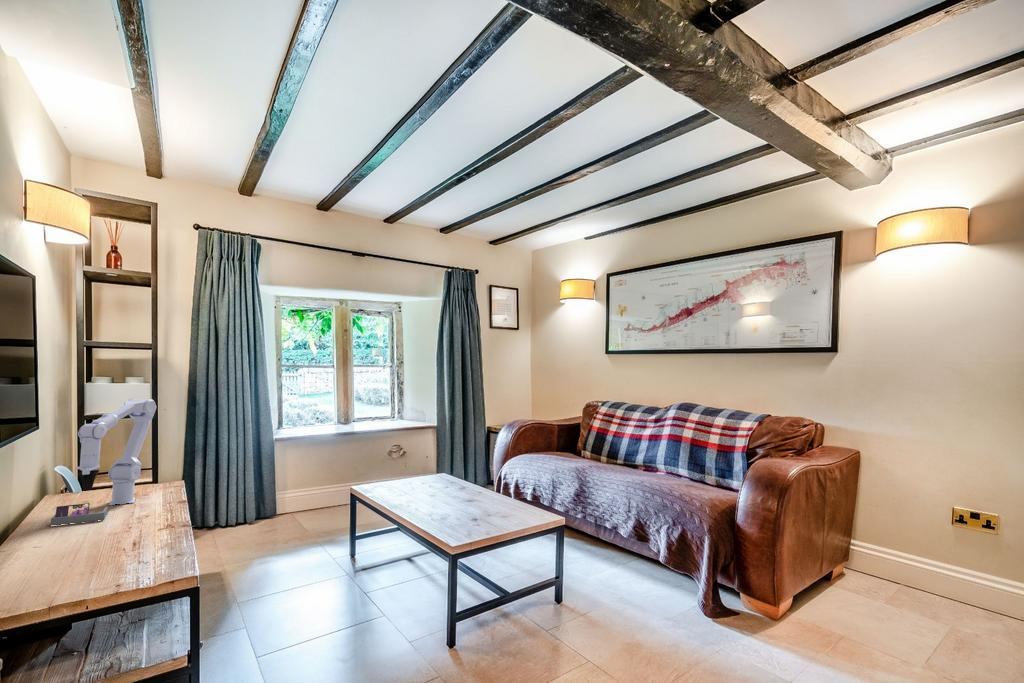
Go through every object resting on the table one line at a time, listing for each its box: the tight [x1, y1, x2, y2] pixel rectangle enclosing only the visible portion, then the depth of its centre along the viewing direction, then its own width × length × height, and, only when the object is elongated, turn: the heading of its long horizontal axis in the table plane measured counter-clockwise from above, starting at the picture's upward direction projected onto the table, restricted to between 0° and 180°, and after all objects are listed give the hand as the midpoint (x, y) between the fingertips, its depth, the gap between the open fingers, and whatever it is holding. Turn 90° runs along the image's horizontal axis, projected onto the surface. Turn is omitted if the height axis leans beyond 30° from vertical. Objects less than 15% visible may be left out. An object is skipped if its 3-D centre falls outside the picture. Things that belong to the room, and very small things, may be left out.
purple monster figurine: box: [54, 502, 91, 518], centre depth 174 cm, size 7×5×9 cm
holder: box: [49, 506, 109, 527], centre depth 176 cm, size 9×15×3 cm, turn 124°
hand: (87, 490), depth 184 cm, fingers closed
